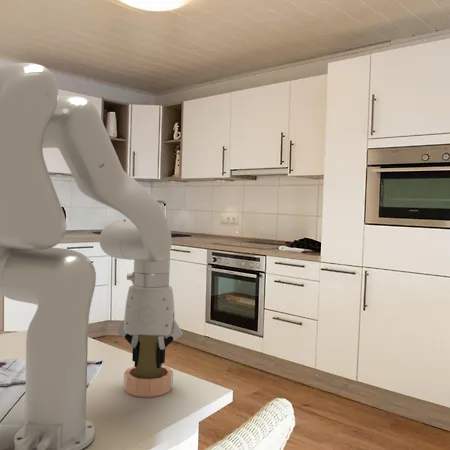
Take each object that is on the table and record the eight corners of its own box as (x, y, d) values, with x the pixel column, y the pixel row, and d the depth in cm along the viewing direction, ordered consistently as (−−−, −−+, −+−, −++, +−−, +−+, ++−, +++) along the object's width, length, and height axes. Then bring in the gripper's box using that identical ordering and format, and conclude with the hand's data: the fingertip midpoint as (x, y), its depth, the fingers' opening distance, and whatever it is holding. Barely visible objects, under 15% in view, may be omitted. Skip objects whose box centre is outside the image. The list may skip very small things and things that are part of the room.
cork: (127, 378, 100) (129, 327, 100) (145, 370, 106) (147, 321, 105) (151, 384, 98) (152, 331, 97) (167, 376, 103) (169, 325, 102)
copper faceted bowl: (166, 399, 96) (167, 382, 96) (118, 395, 97) (119, 379, 97) (175, 381, 106) (176, 365, 106) (131, 378, 107) (132, 363, 107)
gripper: (107, 281, 98) (104, 369, 98) (187, 285, 96) (184, 374, 97) (117, 275, 105) (115, 357, 106) (192, 279, 104) (189, 362, 105)
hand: (148, 364), depth 101 cm, fingers closed on cork, 4 cm apart
